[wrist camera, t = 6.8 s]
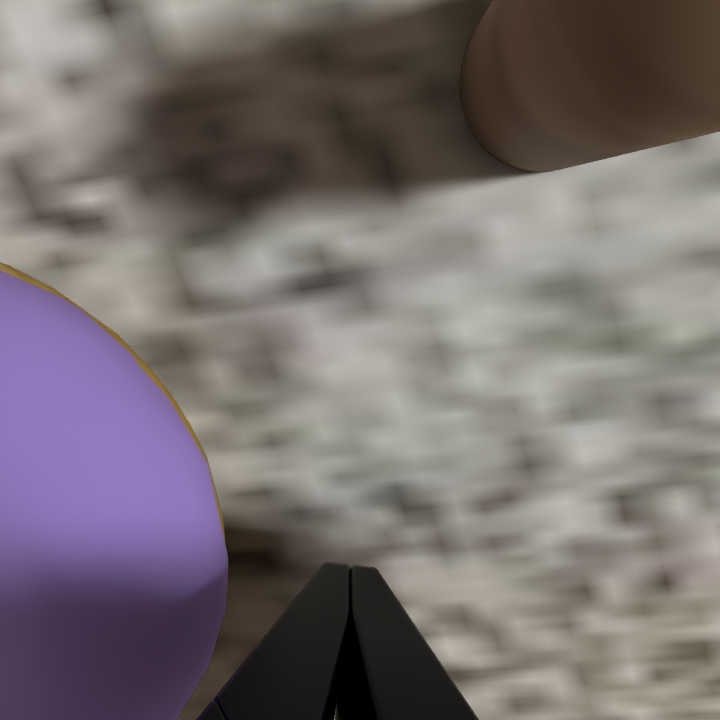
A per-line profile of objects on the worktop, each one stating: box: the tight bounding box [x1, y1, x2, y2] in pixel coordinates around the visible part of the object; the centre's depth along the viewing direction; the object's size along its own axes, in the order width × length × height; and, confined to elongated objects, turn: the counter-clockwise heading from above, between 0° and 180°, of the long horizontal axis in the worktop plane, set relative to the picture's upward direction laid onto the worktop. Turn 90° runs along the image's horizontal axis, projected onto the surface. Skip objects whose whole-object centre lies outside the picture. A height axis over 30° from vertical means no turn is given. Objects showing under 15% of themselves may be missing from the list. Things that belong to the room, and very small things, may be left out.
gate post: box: [460, 0, 720, 172], centre depth 6 cm, size 3×3×5 cm
